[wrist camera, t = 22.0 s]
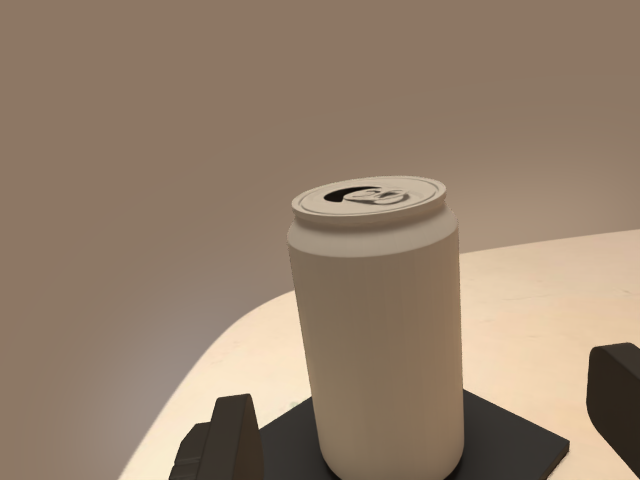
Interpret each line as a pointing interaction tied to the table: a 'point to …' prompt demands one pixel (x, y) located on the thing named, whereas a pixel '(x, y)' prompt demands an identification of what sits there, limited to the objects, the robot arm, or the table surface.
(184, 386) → the table surface
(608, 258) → the table surface
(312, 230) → the beverage can
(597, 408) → the robot arm
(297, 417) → the mat
